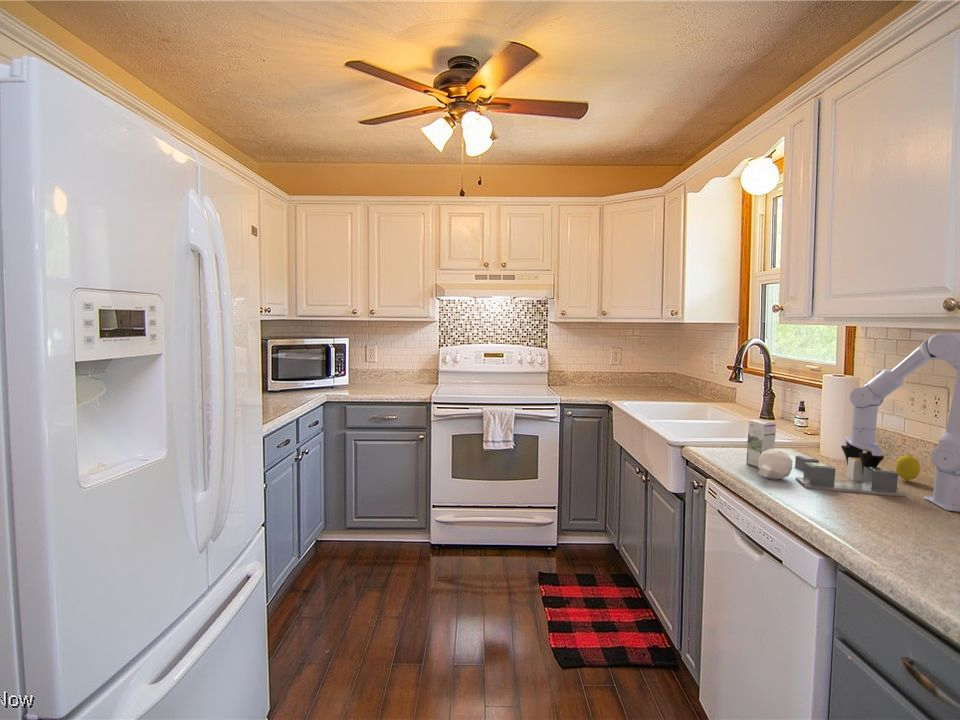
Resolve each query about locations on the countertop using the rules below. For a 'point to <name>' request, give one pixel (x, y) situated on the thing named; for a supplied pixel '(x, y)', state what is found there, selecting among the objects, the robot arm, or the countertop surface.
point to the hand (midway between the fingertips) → (859, 473)
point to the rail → (873, 481)
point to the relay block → (801, 459)
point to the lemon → (907, 467)
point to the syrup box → (759, 439)
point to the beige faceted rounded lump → (774, 464)
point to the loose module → (854, 469)
